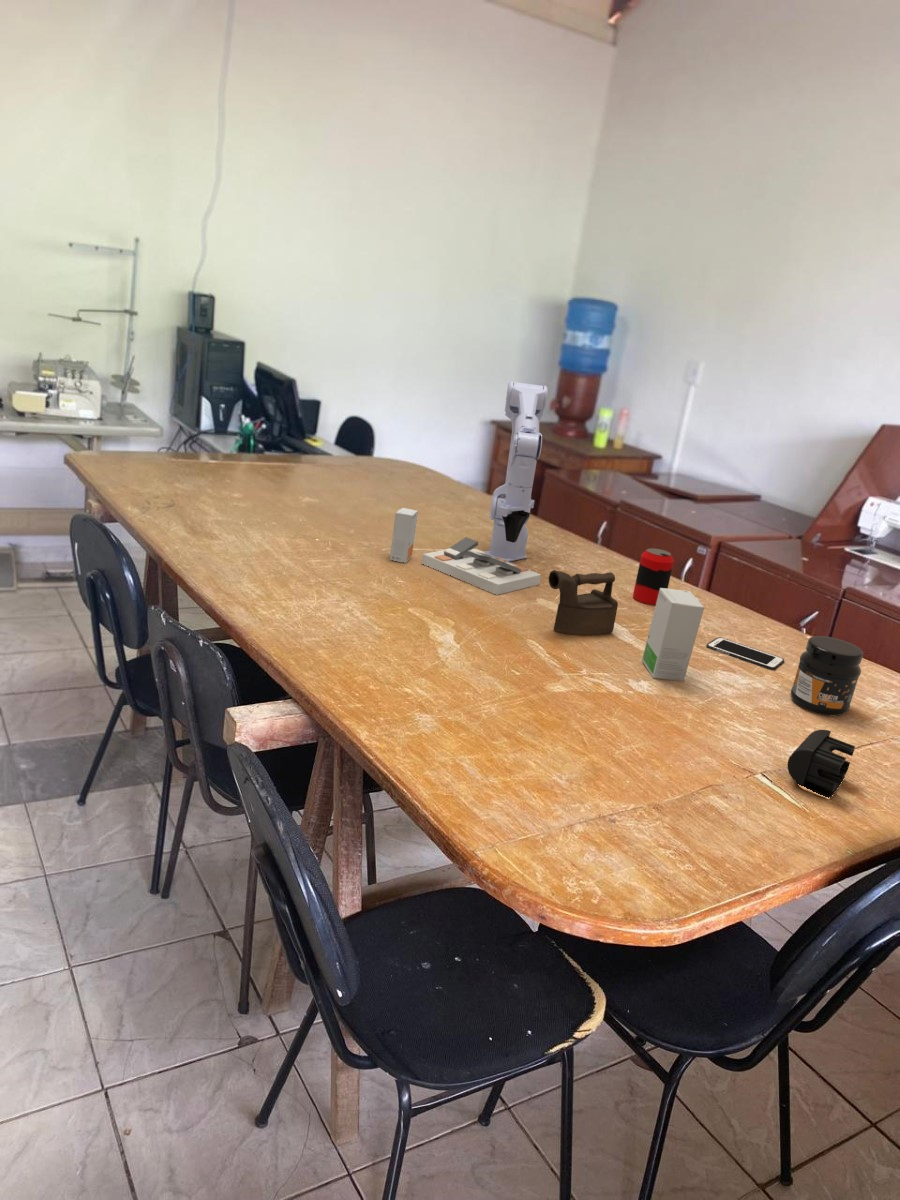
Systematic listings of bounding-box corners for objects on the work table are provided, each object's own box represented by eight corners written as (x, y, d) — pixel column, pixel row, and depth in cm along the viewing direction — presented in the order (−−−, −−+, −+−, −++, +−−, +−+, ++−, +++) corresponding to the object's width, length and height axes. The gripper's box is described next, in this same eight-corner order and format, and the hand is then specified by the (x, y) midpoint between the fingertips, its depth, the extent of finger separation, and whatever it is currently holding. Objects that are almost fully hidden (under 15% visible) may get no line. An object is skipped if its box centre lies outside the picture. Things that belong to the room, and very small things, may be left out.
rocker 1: (466, 540, 221) (465, 536, 220) (478, 545, 218) (477, 541, 218) (444, 555, 216) (443, 551, 216) (456, 559, 214) (455, 555, 213)
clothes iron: (532, 624, 186) (542, 564, 182) (591, 619, 194) (603, 561, 190) (554, 639, 180) (565, 577, 176) (615, 633, 188) (627, 573, 184)
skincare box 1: (406, 563, 214) (412, 515, 210) (389, 560, 215) (394, 512, 211) (412, 557, 220) (418, 510, 216) (396, 554, 221) (401, 507, 217)
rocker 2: (485, 558, 217) (487, 553, 217) (498, 562, 215) (499, 558, 215) (465, 554, 211) (466, 549, 211) (478, 559, 209) (479, 554, 208)
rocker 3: (506, 568, 213) (508, 563, 213) (519, 573, 211) (521, 569, 211) (488, 560, 207) (490, 556, 207) (501, 566, 204) (503, 561, 204)
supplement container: (788, 707, 163) (805, 647, 159) (789, 687, 173) (805, 629, 169) (849, 723, 160) (868, 662, 156) (847, 701, 170) (865, 643, 166)
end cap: (800, 760, 144) (811, 723, 142) (845, 778, 140) (857, 740, 138) (781, 782, 136) (792, 743, 134) (828, 801, 132) (841, 762, 130)
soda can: (645, 606, 208) (656, 557, 204) (626, 595, 214) (636, 547, 210) (670, 605, 211) (681, 556, 208) (650, 593, 218) (660, 546, 214)
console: (465, 555, 227) (467, 542, 226) (539, 584, 213) (541, 571, 212) (421, 563, 216) (423, 550, 215) (496, 595, 201) (498, 580, 200)
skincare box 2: (641, 661, 175) (657, 586, 170) (673, 664, 176) (690, 590, 171) (653, 679, 167) (671, 601, 162) (687, 682, 168) (705, 605, 163)
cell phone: (773, 672, 180) (774, 668, 179) (704, 648, 188) (705, 644, 187) (784, 663, 186) (785, 658, 186) (717, 640, 194) (718, 636, 193)
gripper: (519, 477, 214) (510, 531, 218) (490, 484, 202) (481, 542, 206) (545, 484, 210) (536, 539, 215) (517, 491, 198) (508, 549, 203)
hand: (511, 541), depth 210 cm, fingers closed
